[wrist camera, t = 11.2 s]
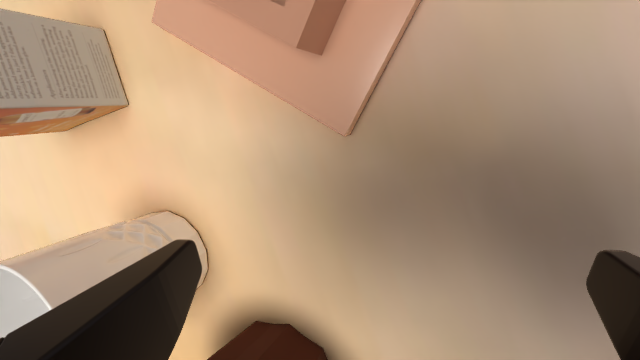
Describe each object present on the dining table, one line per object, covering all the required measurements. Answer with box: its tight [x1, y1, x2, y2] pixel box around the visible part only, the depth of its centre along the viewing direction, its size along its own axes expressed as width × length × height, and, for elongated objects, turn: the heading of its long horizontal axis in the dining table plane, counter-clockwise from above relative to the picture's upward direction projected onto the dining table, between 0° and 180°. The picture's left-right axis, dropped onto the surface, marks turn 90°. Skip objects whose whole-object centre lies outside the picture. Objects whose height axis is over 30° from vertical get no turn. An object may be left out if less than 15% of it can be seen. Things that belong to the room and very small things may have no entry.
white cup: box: [0, 211, 208, 338], centre depth 21 cm, size 8×8×10 cm
